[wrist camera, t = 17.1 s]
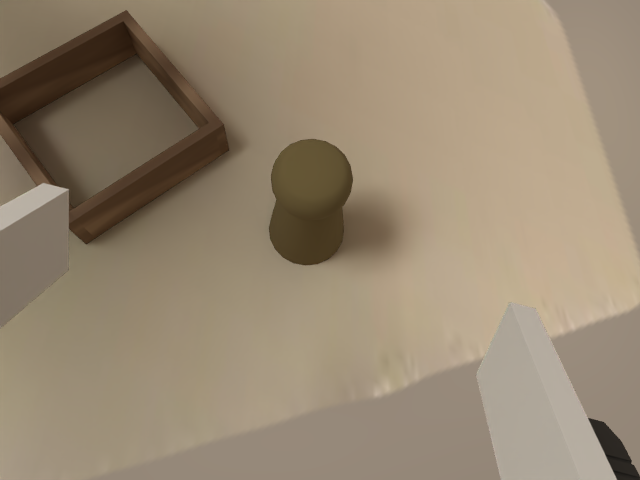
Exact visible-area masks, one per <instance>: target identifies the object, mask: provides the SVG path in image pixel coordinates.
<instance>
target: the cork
mask: <svg viewBox="0 0 640 480" xmlns="http://www.w3.org/2000/svg"><path fill="white" fill-rule="evenodd" d="M271 181H272V190H273V193H274V195H275V197H276V199H277V200H276V203H275V207H274V210H273V214H272V217H271V221H270V226H269V232H270V239H271V241H272V243H273V246H274V248H275V249H276V250H277V251H278V253H279V254H280V255H281V256H282V257H283V258H285V259H287V260H289V261H291V262H293V263H296V264H301V265H312V264H318V263H320V262H323V261H325V260H327V259H329V258H330V257H331V256H332V255H333V254H334V253H335V252H336V251H337V250H338V248H339V246H340V244H341V242H342V238H343V233H344V226H343V211H342V206H343V205H344V204H345V202H346V200H347V199H348V197H349V195H350V192H351V188H352V182H353V177H352V171H351V166H350V164H349V162H348V160H347V158H346V156H345V155H344V154H343V153H342V152H341V151H340V150H339V149H338V148H337V147H336V146H334V145H332V144H330V143H328V142H326V141H321V140H316V139H308V140H300V141H298V142H295V143H293V144H290V145H289V146H288V147H287V148H285V149H284V150H283V151H282V152H281V153H280V155H279V156H278V158H277V159H276V161H275V163H274V165H273V169H272V174H271Z"/></svg>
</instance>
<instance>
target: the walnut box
mask: <svg viewBox="0 0 640 480" xmlns="http://www.w3.org/2000/svg"><path fill="white" fill-rule="evenodd" d="M135 54H137V55H138V56H139V57H140V58H141V59H142V61H143V62H144V63H145V64H146V65H147V67H148V68H149V69H150V70H151V71H152V73H153V74H154V75H155V76H156V77H157V79H158V80H159V81H160V82H161V83H162V85H163V86H164V87H165V88H166V89H167V91H168V92H169V93H170V94H171V95H172V97H173V98H174V99H175V100H176V101H177V103H178V104H179V105H180V106H181V107H182V109H183V110H184V111H185V112H186V113H187V115H188V116H189V117H190V118H191V119H192V121H193V122H194V123H195V124H196V125H197V127H198V128H199V129H198V130H197V131H195V132H194V133H192V134H190V135H189V136H187V137H186V138H184V139H182V140H181V141H179V142H178V143H176V144H175V145H173V146H171V147H170V148H168V149H167V150H165V151H164V152H162V153H160V154H159V155H157V156H156V157H154V158H153V159H151V160H149V161H148V162H146V163H145V164H143V165H142V166H140V167H138V168H137V169H135V170H134V171H132V172H131V173H129V174H127V175H126V176H124V177H123V178H121V179H120V180H118V181H116V182H115V183H113V184H112V185H110V186H109V187H107V188H105V189H104V190H102V191H101V192H99V193H97V194H96V195H94V196H93V197H91V198H90V199H88V200H86V201H85V202H83V203H82V204H80V205H79V206H77V207H75V208H73V207H72V205H71V204H70V202H69V229H70V230H71V231H72V232H73V233H74V234H75V235H76V236H78V237H79V238H80V239H81V240H82V241H83V242H84V243H86V244H87V243H89V242H90V241H92V240H93V239H95V238H96V237H98V236H99V235H101V234H102V233H104V232H105V231H107V230H108V229H110V228H111V227H113V226H114V225H116V224H117V223H119V222H120V221H122V220H123V219H125V218H127V217H128V216H130V215H131V214H133V213H134V212H136V211H137V210H139V209H140V208H142V207H143V206H145V205H146V204H148V203H149V202H151V201H152V200H154V199H155V198H157V197H158V196H160V195H161V194H163V193H164V192H166V191H167V190H169V189H170V188H172V187H174V186H175V185H177V184H178V183H180V182H181V181H183V180H184V179H186V178H187V177H189V176H190V175H192V174H193V173H195V172H196V171H198V170H199V169H201V168H202V167H204V166H205V165H207V164H208V163H210V162H211V161H213V160H214V159H216V158H218V157H219V156H221V155H222V154H224V153H225V152H227V151H228V150H229V147H228V143H227V138H226V133H225V128H224V124H223V123H222V122H221V121H220V120H219V118H218V117H217V116H216V115H215V114H214V112H213V111H212V110H211V109H210V108H209V107H208V105H207V104H206V103H205V102H204V101H203V100H202V98H201V97H200V96H199V95H198V94H197V93H196V91H195V90H194V89H193V88H192V87H191V85H190V84H189V83H188V82H187V81H186V80H185V78H184V77H183V76H182V75H181V74H180V73H179V71H178V70H177V69H176V68H175V67H174V65H173V64H172V63H171V62H170V61H169V60H168V58H167V57H166V56H165V55H164V54H163V53H162V51H161V50H160V49H159V48H158V47H157V45H156V44H155V43H154V42H153V41H152V40H151V38H150V37H149V36H148V35H147V34H146V33H145V31H144V30H143V29H142V28H141V27H140V26H139V24H138V23H137V22H136V21H135V20H134V18H133V17H132V16H131V15H130V14H129V13H128V11H127V10H126V11H124V12H122V13H120V14H119V15H117V16H115V17H113V18H111V19H109V20H108V21H106V22H104V23H102V24H100V25H98V26H96V27H95V28H93V29H91V30H89V31H87V32H85V33H84V34H82V35H80V36H78V37H76V38H74V39H72V40H71V41H69V42H67V43H65V44H63V45H61V46H60V47H58V48H56V49H54V50H52V51H50V52H48V53H47V54H45V55H43V56H41V57H39V58H37V59H36V60H34V61H32V62H30V63H28V64H26V65H24V66H23V67H21V68H19V69H17V70H15V71H13V72H12V73H10V74H8V75H6V76H4V77H2V78H0V135H1V136H2V137H3V139H4V140H5V142H6V143H7V144H8V146H9V147H10V149H11V150H12V152H13V153H14V154H15V156H16V157H17V159H18V160H19V161H20V163H21V164H22V166H23V167H24V168H25V170H26V171H27V173H28V174H29V175H30V177H31V178H32V180H33V181H34V182H35V184H36V185H37V186H39V185H41V184H42V183H46V184H49V185H53V186H57V185H56V183H55V182H54V180H53V179H52V178H51V176H50V175H49V173H48V172H47V171H46V169H45V168H44V167H43V165H42V164H41V162H40V161H39V160H38V158H37V157H36V156H35V154H34V153H33V151H32V150H31V149H30V147H29V146H28V144H27V143H26V142H25V140H24V139H23V138H22V136H21V135H20V133H19V132H18V131H17V129H16V128H15V127H14V125H13V124H14V123H16V122H18V121H19V120H21V119H23V118H25V117H26V116H28V115H30V114H32V113H33V112H35V111H37V110H39V109H40V108H42V107H44V106H46V105H47V104H49V103H51V102H53V101H54V100H56V99H58V98H60V97H61V96H63V95H65V94H67V93H68V92H70V91H72V90H74V89H75V88H77V87H79V86H81V85H82V84H84V83H86V82H88V81H90V80H91V79H93V78H95V77H97V76H98V75H100V74H102V73H104V72H105V71H107V70H109V69H111V68H112V67H114V66H116V65H118V64H119V63H121V62H123V61H125V60H126V59H128V58H130V57H132V56H133V55H135ZM57 187H58V186H57Z"/></svg>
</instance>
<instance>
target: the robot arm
mask: <svg viewBox="0 0 640 480" xmlns="http://www.w3.org/2000/svg"><path fill="white" fill-rule="evenodd" d="M68 270H69V189H65V188H61V187H57V186H53V185H49V184H46V183H42V184H41V185H39V186H37V187H35V188H33V189H31V190H29V191H28V192H26V193H24V194H22V195H20V196H18V197H17V198H15V199H13V200H11V201H9V202H7V203H5V204H4V205H2V206H0V328H1V327H3V326H4V325H5V324H6V323H7V322H8V321H10V320H11V319H12V318H13V317H14V316H15V315H17V314H18V313H19V312H20V311H21V310H22V309H24V308H25V307H26V306H27V305H28V304H29V303H31V302H32V301H33V300H34V299H35V298H36V297H38V296H39V295H40V294H41V293H42V292H43V291H45V290H46V289H47V288H48V287H49V286H50V285H52V284H53V283H54V282H55V281H56V280H57V279H59V278H60V277H61V276H62V275H63V274H64V273H66V272H67V271H68ZM476 376H477V380H478V385H479V389H480V393H481V397H482V402H483V406H484V410H485V415H486V419H487V423H488V428H489V432H490V436H491V440H492V445H493V449H494V453H495V458H496V462H497V466H498V470H499V475H500V478H501V480H640V476H639V474H638V472H637V470H636V468H635V466H634V465H632V464H631V459H630V457H629V455H628V453H627V451H626V449H625V447H624V445H623V444H622V442H621V440H620V439H619V438H618V437H617V436H616V435H615V434H614V433H613V432H612V431H611V429H609V427H608V426H607V425H606V424H605V423H604V422H602V421H598V420H594V419H590V418H587V416H586V413H585V411H584V409H583V407H582V405H581V403H580V401H579V399H578V397H577V394H576V392H575V390H574V388H573V386H572V384H571V382H570V380H569V378H568V375H567V373H566V371H565V369H564V367H563V365H562V363H561V361H560V359H559V356H558V354H557V352H556V350H555V348H554V346H553V344H552V342H551V340H550V338H549V335H548V333H547V331H546V329H545V327H544V325H543V323H542V321H541V319H540V316H539V314H538V312H537V310H536V308H532V307H528V306H524V305H520V304H516V303H512V302H509V304H508V307H507V309H506V311H505V313H504V315H503V317H502V320H501V322H500V324H499V326H498V328H497V330H496V333H495V335H494V337H493V339H492V341H491V343H490V346H489V348H488V350H487V352H486V354H485V356H484V359H483V361H482V363H481V365H480V367H479V369H478V371H477V374H476Z"/></svg>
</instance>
